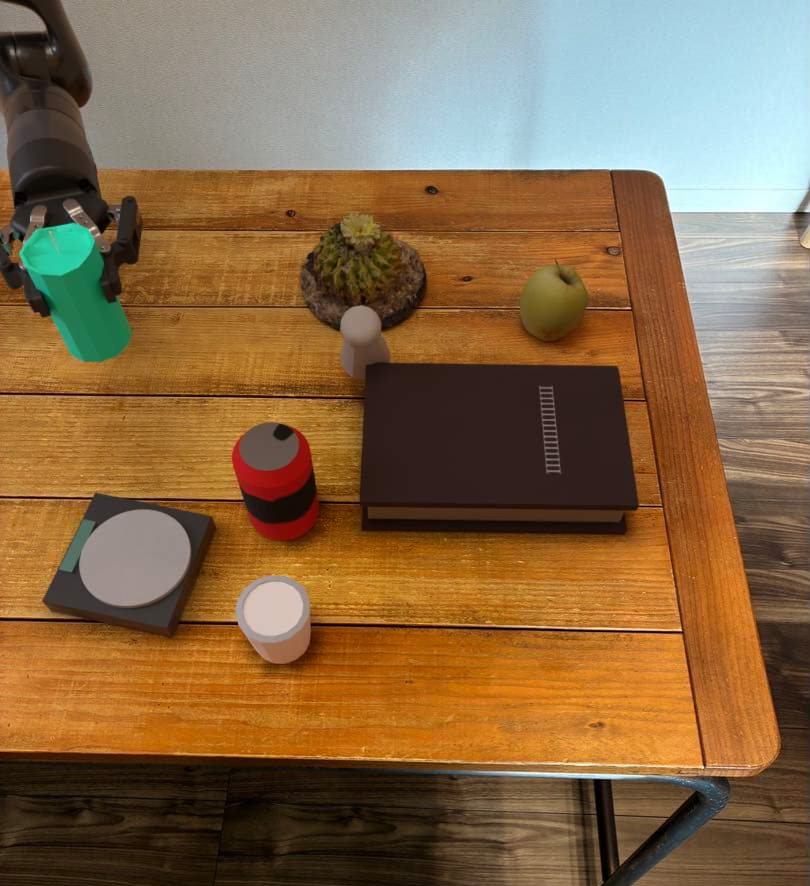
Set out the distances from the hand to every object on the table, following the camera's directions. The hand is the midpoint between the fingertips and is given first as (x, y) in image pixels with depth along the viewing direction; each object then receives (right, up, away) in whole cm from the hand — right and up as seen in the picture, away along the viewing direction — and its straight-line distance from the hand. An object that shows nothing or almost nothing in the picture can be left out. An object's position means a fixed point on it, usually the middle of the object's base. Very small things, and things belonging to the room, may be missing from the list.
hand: (76, 301), depth 68 cm
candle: (-1, -1, +8) cm, 8 cm away
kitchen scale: (-1, -23, +17) cm, 28 cm away
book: (+37, -11, +24) cm, 45 cm away
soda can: (+14, -17, +20) cm, 30 cm away
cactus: (+22, +13, +37) cm, 45 cm away
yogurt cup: (+15, -30, +13) cm, 36 cm away
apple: (+45, +6, +34) cm, 57 cm away
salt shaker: (+23, +1, +29) cm, 37 cm away
